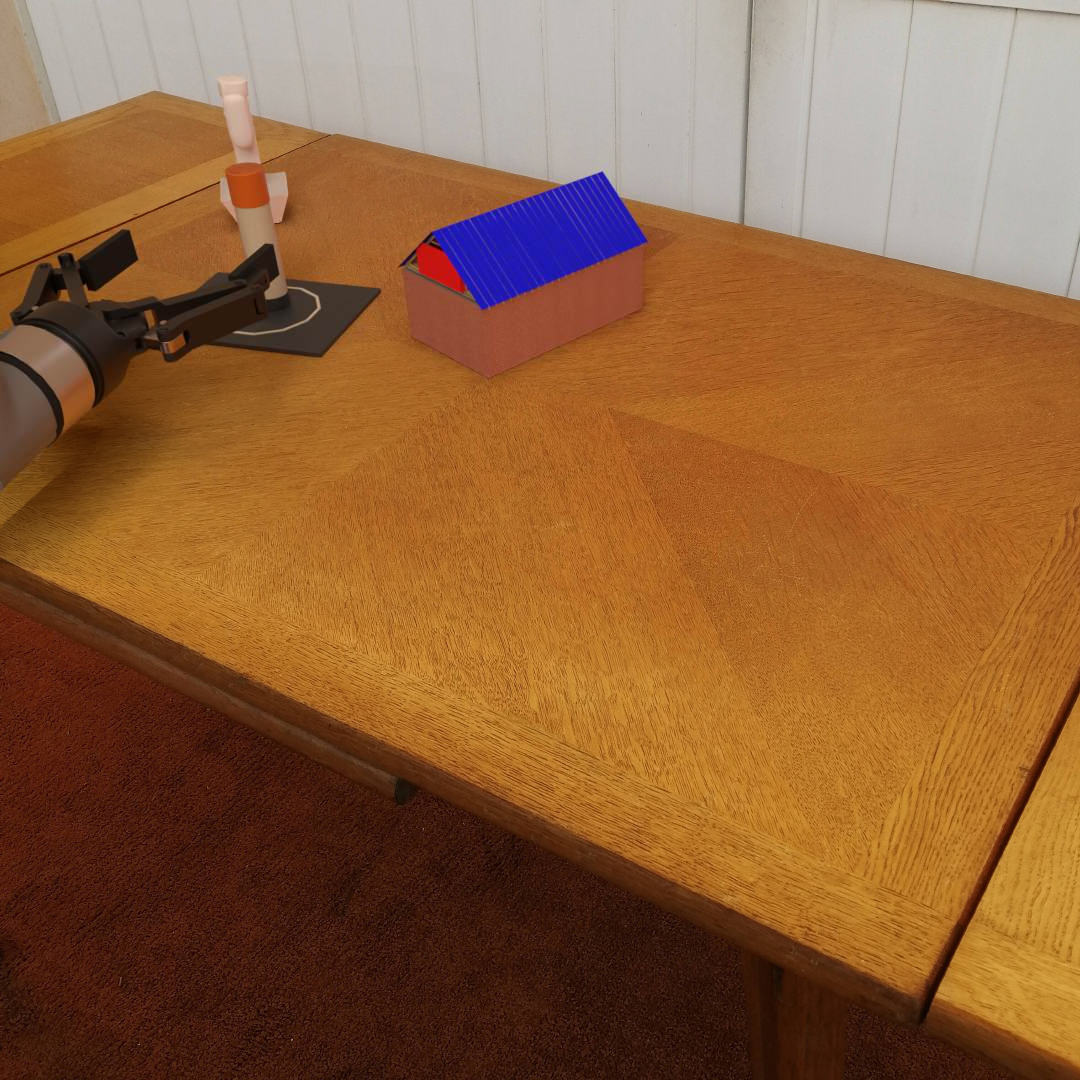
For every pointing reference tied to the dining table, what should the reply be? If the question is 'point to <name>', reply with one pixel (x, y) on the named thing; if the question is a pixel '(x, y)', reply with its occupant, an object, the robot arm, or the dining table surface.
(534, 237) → the house
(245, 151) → the figurine
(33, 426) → the robot arm
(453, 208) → the dining table surface
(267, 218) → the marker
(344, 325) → the slate board
